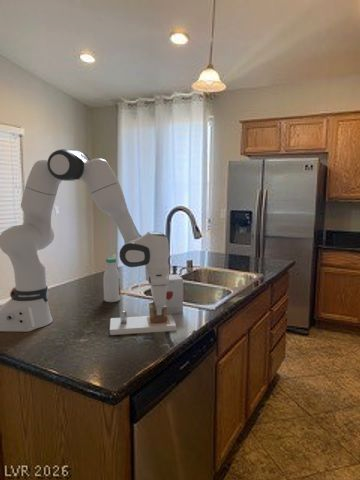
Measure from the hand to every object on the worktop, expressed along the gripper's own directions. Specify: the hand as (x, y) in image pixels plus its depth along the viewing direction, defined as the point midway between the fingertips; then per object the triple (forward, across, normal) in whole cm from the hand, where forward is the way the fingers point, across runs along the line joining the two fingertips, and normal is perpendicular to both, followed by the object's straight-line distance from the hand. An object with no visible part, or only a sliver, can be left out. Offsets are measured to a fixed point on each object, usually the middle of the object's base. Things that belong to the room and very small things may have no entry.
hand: (157, 310), depth 140 cm
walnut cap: (+4, 0, 0) cm, 4 cm away
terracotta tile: (+4, 0, 0) cm, 4 cm away
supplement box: (+6, -16, +7) cm, 19 cm away
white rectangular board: (+6, 0, -6) cm, 8 cm away
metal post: (+4, 0, -13) cm, 14 cm away
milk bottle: (+6, -36, -18) cm, 41 cm away
